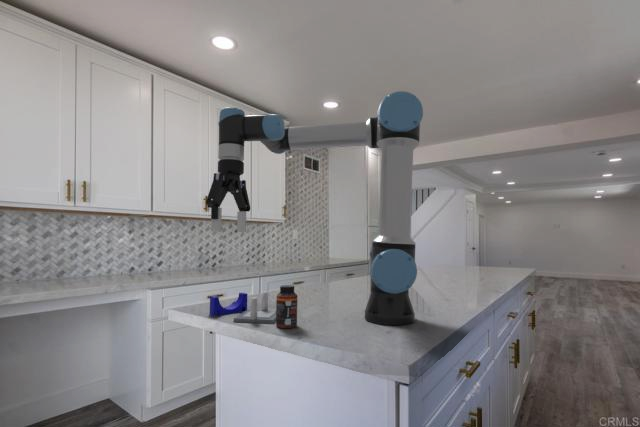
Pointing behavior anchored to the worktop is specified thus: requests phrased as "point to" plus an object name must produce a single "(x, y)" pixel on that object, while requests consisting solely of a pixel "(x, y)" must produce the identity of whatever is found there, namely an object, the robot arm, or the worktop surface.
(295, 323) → the supplement bottle
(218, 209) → the robot arm
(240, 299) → the cable clip
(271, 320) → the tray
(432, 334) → the worktop surface
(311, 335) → the worktop surface
